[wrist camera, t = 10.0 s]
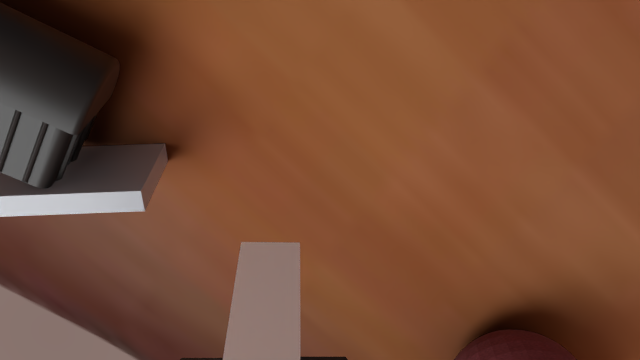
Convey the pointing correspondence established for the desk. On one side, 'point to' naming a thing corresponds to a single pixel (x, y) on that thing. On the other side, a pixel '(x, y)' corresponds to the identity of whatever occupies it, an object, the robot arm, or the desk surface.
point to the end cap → (47, 97)
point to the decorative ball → (514, 347)
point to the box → (91, 183)
